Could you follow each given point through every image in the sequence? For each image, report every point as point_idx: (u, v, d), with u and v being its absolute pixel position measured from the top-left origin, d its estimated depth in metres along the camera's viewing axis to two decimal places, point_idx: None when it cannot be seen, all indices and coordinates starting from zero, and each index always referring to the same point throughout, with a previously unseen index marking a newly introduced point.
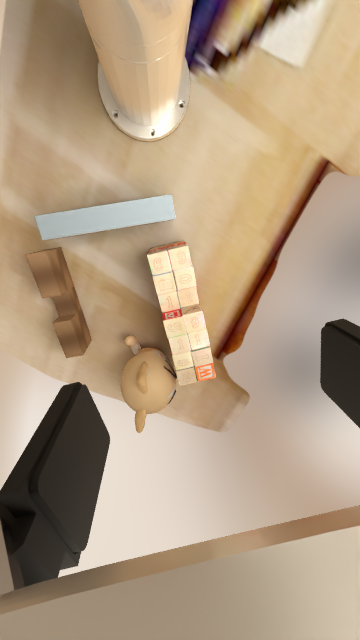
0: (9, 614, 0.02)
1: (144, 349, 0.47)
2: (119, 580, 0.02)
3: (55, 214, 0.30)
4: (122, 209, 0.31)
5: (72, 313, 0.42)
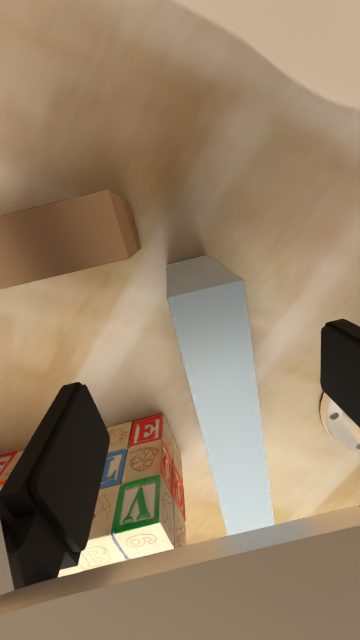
0: (9, 614, 0.02)
1: None
2: (119, 578, 0.02)
3: (247, 343, 0.10)
4: (253, 480, 0.13)
5: None
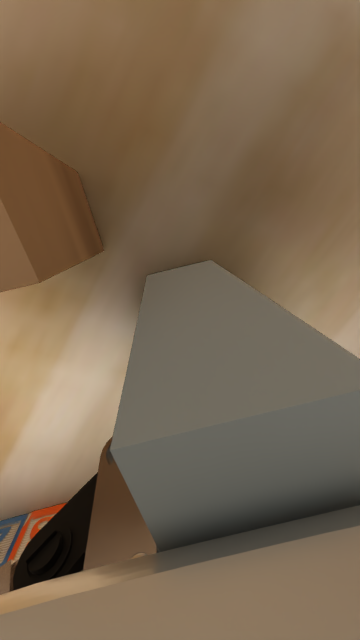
0: (9, 614, 0.02)
1: None
2: (120, 580, 0.02)
3: None
4: None
5: None
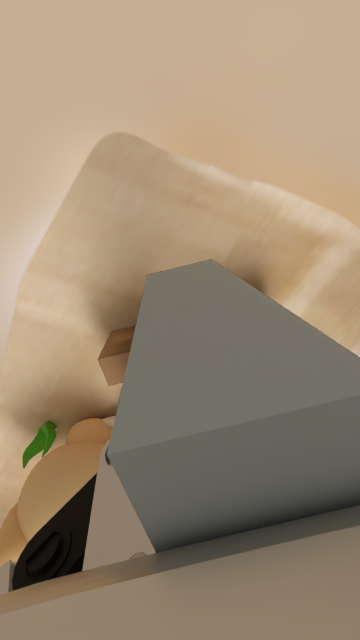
0: (9, 614, 0.02)
1: None
2: (119, 579, 0.02)
3: None
4: None
5: None
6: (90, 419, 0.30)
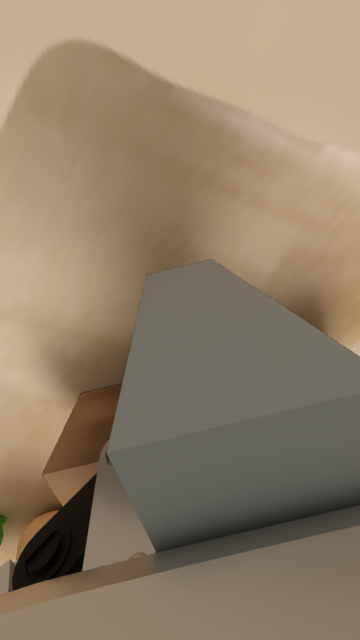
0: (9, 614, 0.02)
1: None
2: (119, 579, 0.02)
3: None
4: None
5: None
6: None
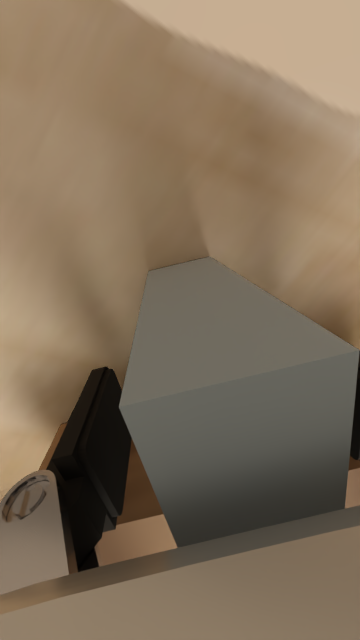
0: (9, 614, 0.02)
1: None
2: (119, 579, 0.02)
3: (334, 491, 0.04)
4: None
5: None
6: None
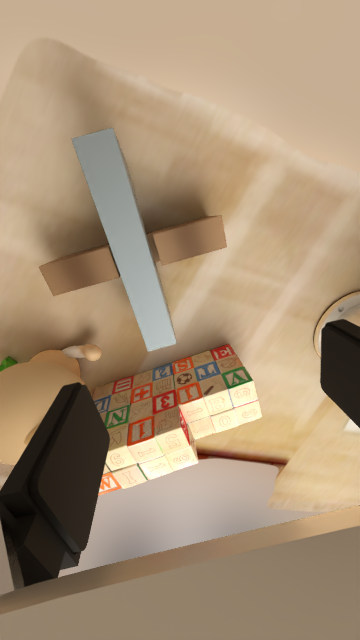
0: (9, 614, 0.02)
1: (76, 363, 0.31)
2: (119, 579, 0.02)
3: (123, 172, 0.18)
4: (148, 283, 0.21)
5: None
6: (49, 350, 0.31)
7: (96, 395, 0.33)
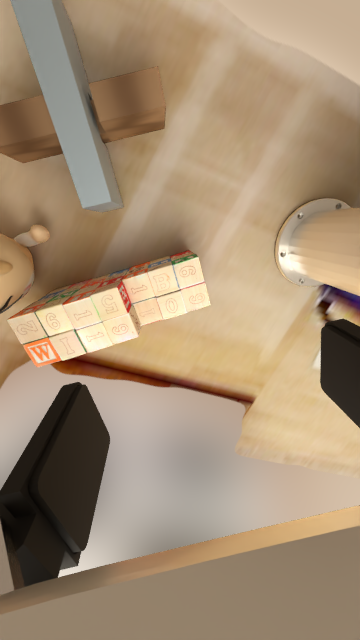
0: (9, 614, 0.02)
1: (28, 253, 0.31)
2: (119, 579, 0.02)
3: None
4: (77, 121, 0.21)
5: None
6: None
7: (52, 291, 0.33)
